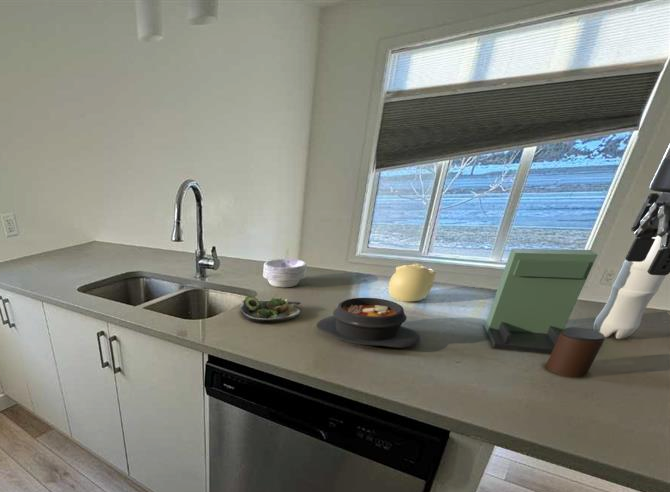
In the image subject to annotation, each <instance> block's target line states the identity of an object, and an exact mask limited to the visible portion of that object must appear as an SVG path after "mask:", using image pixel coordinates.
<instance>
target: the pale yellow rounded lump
mask: <svg viewBox="0 0 670 492" xmlns="http://www.w3.org/2000/svg"><path fill="white" fill-rule="evenodd" d="M436 274H437V271H436V270H434V269H432V268H428V267H427V266H424V265H423V264H421V263H413V264H404V265H399V266H396V267H395V272H394V273H393V275H392V276H391V277H390V279H389V283H388V293H389V295H390V297H392V298H393V299H394V300H397V301H401V302H417V301H422V300H423V299H425V298H426V297H427V296H428V295H429V293H430V292H431V290H432V288H433V285H434V284H435V283H434V282H435V277H436Z"/></svg>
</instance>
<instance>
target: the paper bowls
mask: <svg viewBox="0 0 670 492" xmlns="http://www.w3.org/2000/svg"><path fill="white" fill-rule="evenodd" d="M307 266H308V263H307V262H306V261H304V260H301V259H295V258H277V259H276V258H275V259H270V260H267V261H265V262H264V263H263V271H262V276H263V278H264V279H266V280H267V281H268V283H269V285H270V286H272V287H276V288H292V287H296V286H297V285H298V284H299V282H300V281H301V280H303V279H305V278H306V275H307Z"/></svg>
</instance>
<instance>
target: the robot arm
mask: <svg viewBox="0 0 670 492" xmlns="http://www.w3.org/2000/svg"><path fill="white" fill-rule="evenodd" d="M649 190H650V191H652V193H649V194H648V195H647V196H646V199H645V201H644V203H643V205H642V206H641V208H640V211H639V213H638V214H637V216H636V217H635V220H634V222H633V224H632V226H631V228H630V231H631V232H633V238H634V239H633V241H632V244H631V246H630V248H629V249H628V252H627V253H626V256H625V260H627V261H629V262H642V261H644V260H645V259H646V257H647V255H648V253H649V251H650V249H651V247H652V245H653V243H654V241H655V239H654V238H652V237H657V236H660V237H661V244H660V249H659V250H658V252H657V254H656V256H655V258H654V259H653V261H652V263H651V265H650V267H649V269H648V271H647V272H648V273H649V274H650V275H666V276H668V275H669V274H670V144H669V145H668V147H667V148H666V151H665V153H664V155H663V157H662V159H661V161H660V164H659V166H658V167H657V170H656V172H655V174H654V176H653V178H652V181H651V182H650V184H649Z"/></svg>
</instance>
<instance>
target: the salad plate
mask: <svg viewBox="0 0 670 492" xmlns="http://www.w3.org/2000/svg"><path fill="white" fill-rule="evenodd" d="M241 303H242V304H240V305H239V310H240V311H239V312H240V313H241V315H242V316H243V317H244V319H246V320H247V321H249V322H251V323H255V324H271V323H278V322H283V321H286V320H290V319H291V320H292V319H293V318H295V317H297V316H298V315H300V313H301V311H300V309H298V308H297V307H295V306H297V305H301V303H302V302H301V301H293V300H292V301H290V300H289V301H288V299H287V298H285V299H282V298H281V297H280V298H278V297H277V298H274V297H272V298H270V299H265V300H259V299H258V298H256V297H255V296H252V295H251V296H246V297H245V298H244V300H243V301H241Z"/></svg>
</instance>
